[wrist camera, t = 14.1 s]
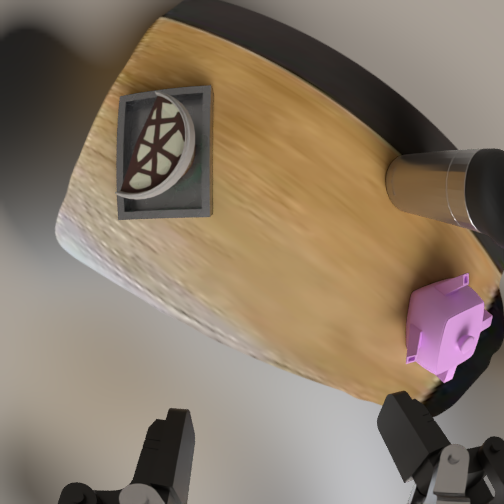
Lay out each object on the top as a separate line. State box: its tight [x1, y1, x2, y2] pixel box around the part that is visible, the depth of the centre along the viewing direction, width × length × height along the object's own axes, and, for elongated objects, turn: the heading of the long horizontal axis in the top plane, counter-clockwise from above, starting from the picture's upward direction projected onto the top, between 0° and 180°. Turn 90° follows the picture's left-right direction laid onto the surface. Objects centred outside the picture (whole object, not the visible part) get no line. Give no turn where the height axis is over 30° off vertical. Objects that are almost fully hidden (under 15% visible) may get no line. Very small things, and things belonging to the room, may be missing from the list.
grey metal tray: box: [117, 85, 214, 220], centre depth 33 cm, size 12×17×4 cm
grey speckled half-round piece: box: [115, 91, 196, 199], centre depth 29 cm, size 12×6×10 cm, turn 158°
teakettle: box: [406, 273, 492, 383], centre depth 37 cm, size 17×17×12 cm
